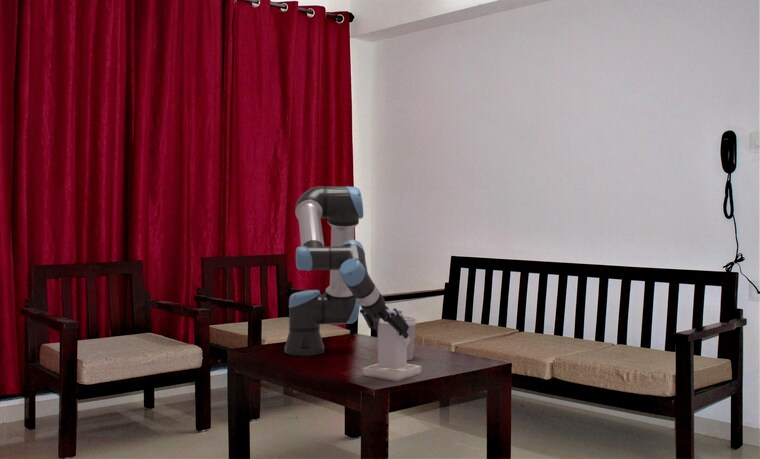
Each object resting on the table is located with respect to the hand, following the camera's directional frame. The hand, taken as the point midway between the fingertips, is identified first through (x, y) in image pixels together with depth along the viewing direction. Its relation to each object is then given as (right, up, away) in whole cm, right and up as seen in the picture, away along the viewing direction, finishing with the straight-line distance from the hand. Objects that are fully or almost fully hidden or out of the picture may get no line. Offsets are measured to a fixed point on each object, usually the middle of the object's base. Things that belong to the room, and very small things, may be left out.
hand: (398, 341), depth 250 cm
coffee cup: (+3, -10, +23) cm, 25 cm away
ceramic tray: (-2, -11, -2) cm, 11 cm away
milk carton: (-2, -8, -3) cm, 9 cm away
